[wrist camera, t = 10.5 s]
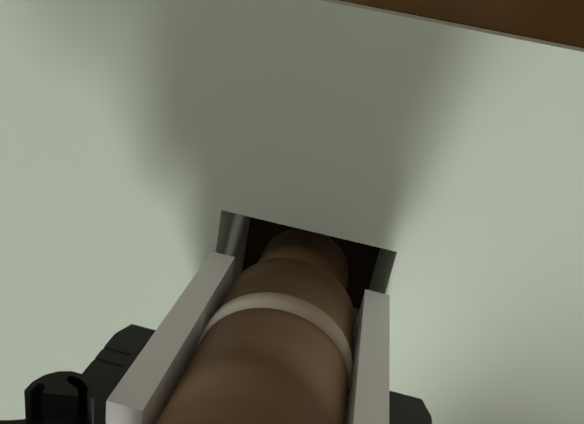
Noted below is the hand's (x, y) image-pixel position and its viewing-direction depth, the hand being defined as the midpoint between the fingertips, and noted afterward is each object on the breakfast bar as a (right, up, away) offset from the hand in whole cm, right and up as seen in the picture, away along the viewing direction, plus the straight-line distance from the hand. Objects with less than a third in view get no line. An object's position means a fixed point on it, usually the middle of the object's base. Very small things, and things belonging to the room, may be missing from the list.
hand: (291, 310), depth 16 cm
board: (+1, +2, +5) cm, 5 cm away
